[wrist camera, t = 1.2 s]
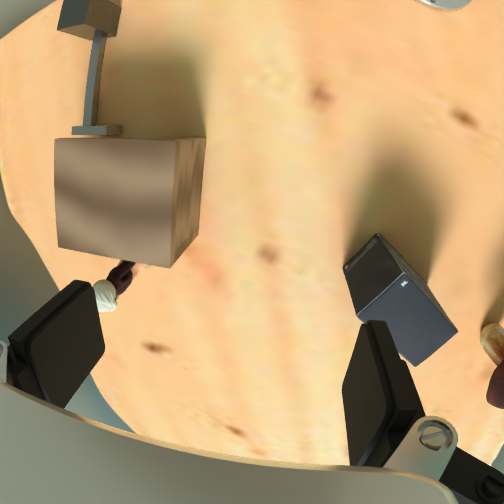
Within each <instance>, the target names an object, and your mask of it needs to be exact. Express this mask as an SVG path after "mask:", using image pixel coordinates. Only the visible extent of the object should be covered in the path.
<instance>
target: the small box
mask: <svg viewBox="0 0 504 504" xmlns="http://www.w3.org/2000/svg"><path fill="white" fill-rule="evenodd" d="M343 271H344V275H345V278H346V281H347V284H348V288H349V291H350V294H351V298H352V301H353V305H354V308H355V312H356V316H357V317H358V318H359V319H360V320H361V321H362V322H363V323H365V324H366V323H367V321H368V320H382V321H386V323H387V326H388V328H389V331H390V333H391V336H392V338H393V341H394V343H395V346H396V348H397V351H398V353H400V354H401V355H402V356H403V357H404V358H405V359H406V360H407V361H409V362H410V363H411V364H412V365H413V366H414V367H416V366H418V365H419V364H420V363H422V362H423V361H424V360H425V359H427V358H428V357H429V356H431V355H432V354H433V353H434V352H435V351H437V350H438V349H439V348H440V347H441V346H442V345H444V344H445V343H446V342H447V341H448V340H449V339H450V338H452V337H453V336H454V335H455V334H456V333H457V332H458V330H457V328H456V327H455V326H454V324H453V323H452V322H451V320H450V319H449V318H448V316H447V315H446V313H445V312H444V310H443V309H442V307H441V306H440V304H439V303H438V301H437V300H436V298H435V297H434V295H433V294H432V292H431V290H430V289H429V287H428V285H427V284H426V283H425V282H424V281H423V280H422V279H421V277H420V276H419V275H418V274H417V273H416V272H415V271H414V269H413V268H412V267H411V266H410V265H409V264H408V263H407V262H406V261H405V260H404V259H403V258H402V256H401V255H400V254H399V253H398V252H397V251H396V250H395V249H394V248H393V247H392V246H391V245H390V244H389V243H388V242H387V241H386V240H385V239H384V238H383V237H382V236H381V235H380V234H379V233H378V234H375V236H373V238H372V239H371V240H370V241H369V242H368V243H367V244H366V245H365V246H364V247H363V248H362V249H361V250H360V251H359V252H358V253H357V254H356V255H355V256H354V257H352V258H351V259H350V260H349V261H348V263H347V264H346V265H345V266H344V267H343Z"/></svg>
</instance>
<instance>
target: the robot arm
mask: <svg viewBox="0 0 504 504" xmlns="http://www.w3.org/2000/svg"><path fill="white" fill-rule="evenodd" d="M416 1H418V2H419V3H421V4H423V5H426V6H428V7H430V8H434V9H437V10H442V11H454V10H458V9H461V8H463V7H465V6H466V5H468V4H469V3H470V2H471V1H472V0H416ZM8 339H9V342H10V345H9V346H8V347H7V345H6V344H5V342H3V341H1V340H0V504H504V474H502V473H501V472H500V471H498V470H496V469H495V468H493V467H491V466H489V465H487V464H486V463H484V462H482V461H480V460H479V459H477V458H475V457H473V456H472V455H470V454H468V453H467V452H465V451H463V450H461V449H460V448H458V447H456V446H457V442H458V435H457V432H456V430H455V428H454V427H453V426H452V424H451V423H450V422H448V421H447V420H445V419H443V418H440V417H437V416H426V415H425V412H424V410H423V407H422V404H421V401H420V398H419V395H418V393H417V390H416V387H415V384H414V382H413V379H412V376H411V374H410V371H409V369H408V366H407V364H406V362H405V361H404V360H401V359H400V356H399V353H398V351H397V348H396V346H395V343H394V341H393V338H392V336H391V333H390V331H389V328H388V326H387V323H386V321H382V320H368V321H367V323H366V324H364V323H363V324H362V325H361V327H360V330H359V334H358V337H357V340H356V344H355V347H354V350H353V353H352V357H351V360H350V363H349V366H348V369H347V372H346V375H345V378H344V381H343V385H342V397H343V405H344V413H345V421H346V430H347V440H348V450H349V460H350V466H345V465H321V464H305V463H292V462H282V461H271V460H262V459H254V458H247V457H239V456H233V455H227V454H221V453H215V452H210V451H205V450H199V449H195V448H190V447H185V446H181V445H176V444H172V443H168V442H164V441H160V440H156V439H152V438H149V437H145V436H141V435H138V434H134V433H131V432H128V431H124V430H121V429H118V428H115V427H111V426H109V425H106V424H103V423H100V422H97V421H94V420H91V419H89V418H86V417H83V416H80V415H78V414H75V413H73V412H70V411H67V410H65V409H64V408H65V406H66V405H67V403H68V402H69V401H70V399H71V398H72V396H73V395H74V394H75V392H76V391H77V389H78V388H79V387H80V385H81V384H82V382H83V381H84V380H85V378H86V377H87V376H88V374H89V373H90V372H91V370H92V369H93V368H94V366H95V365H96V364H97V362H98V361H99V359H100V358H101V357H102V355H103V354H104V351H105V343H104V339H103V334H102V329H101V324H100V319H99V313H98V308H97V302H96V296H95V290H94V288H93V287H91V284H90V283H89V282H86V281H81V280H74V281H72V282H71V283H70V284H69V285H67V286H66V287H65V288H64V289H63V290H61V291H60V292H59V293H58V294H57V295H55V296H54V297H53V298H52V299H51V300H50V301H48V302H47V303H46V304H45V305H44V306H42V307H41V308H40V309H39V310H38V311H37V312H35V313H34V314H33V315H32V316H31V317H30V318H29V319H28V320H27V321H25V322H24V323H23V324H22V325H21V326H20V327H18V328H17V329H16V330H15V331H14V332H13V333H12V334H11V335H10V336H9V337H8Z"/></svg>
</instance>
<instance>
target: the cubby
mask: <svg viewBox="0 0 504 504" xmlns="http://www.w3.org/2000/svg"><path fill="white" fill-rule="evenodd" d="M205 146H206V138H199V137H193V138H183V139H174V140H155V139H132V138H58V139H55V146H54V187H55V211H56V226H57V238H58V247H60V248H65V249H70V250H75V251H80V252H85V253H90V254H95V255H100V256H105V257H111V258H116V259H121V260H127V261H132V262H137V263H143V264H148V265H154V266H159V267H165V268H171V266H172V265H173V264H174V263H175V262H176V260H177V259H178V258H179V257H180V256H181V254H182V253H183V252H184V251H185V250H186V249H187V247H188V246H189V245H190V244H191V243H192V241H193V240H194V239H195V238H196V237H197V236H198V229H199V215H200V202H201V190H202V178H203V167H204V156H205Z"/></svg>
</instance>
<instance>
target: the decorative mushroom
mask: <svg viewBox="0 0 504 504" xmlns="http://www.w3.org/2000/svg"><path fill="white" fill-rule="evenodd" d="M480 342H481V345H482V347H483V349H484V350H485V352H486V353H487V354H488V355H489V357H490V358H491V359H492V361H493V362H494V363H495V364H496V365H497V368H496V369H495V370H494V372H493V374H492V376H491V379H490V382H489V386H488V390H487V395H486V399H487V402H488V403H489V404H491V405H493V406H495V407H497V408H501V409H504V329H503V328H502V327H501V326H500V325H499V324H496V323H491V324H488V325H486V326H485V327H484V328H483V330H482V331H481V335H480Z"/></svg>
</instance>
